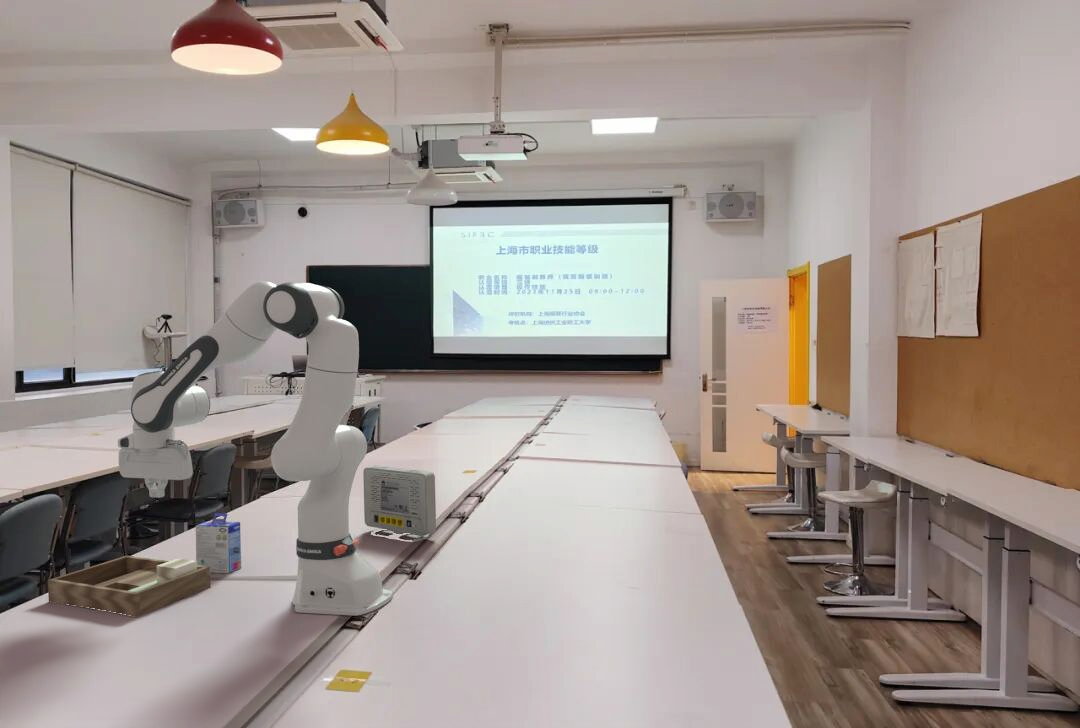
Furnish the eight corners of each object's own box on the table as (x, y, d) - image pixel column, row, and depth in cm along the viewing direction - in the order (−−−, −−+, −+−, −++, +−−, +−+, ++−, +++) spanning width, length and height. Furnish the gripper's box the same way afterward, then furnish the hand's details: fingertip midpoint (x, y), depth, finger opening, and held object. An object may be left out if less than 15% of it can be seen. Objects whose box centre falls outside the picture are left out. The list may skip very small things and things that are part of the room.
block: (197, 577, 172) (196, 560, 172) (176, 585, 167) (175, 568, 167) (178, 574, 174) (178, 558, 174) (157, 582, 169) (156, 565, 169)
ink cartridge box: (243, 567, 189) (241, 512, 189) (229, 574, 184) (228, 517, 183) (209, 565, 191) (207, 511, 191) (195, 572, 186) (193, 516, 185)
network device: (441, 537, 215) (439, 470, 214) (421, 545, 207) (419, 475, 207) (378, 527, 228) (377, 464, 228) (358, 533, 221) (356, 468, 220)
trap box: (210, 587, 174) (209, 566, 174) (136, 617, 156) (135, 594, 156) (127, 574, 185) (126, 555, 185) (48, 601, 166) (47, 580, 166)
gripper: (197, 438, 172) (200, 496, 172) (135, 436, 180) (138, 492, 180) (175, 442, 166) (178, 501, 167) (112, 440, 174) (115, 497, 174)
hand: (157, 496), depth 173 cm, fingers closed
